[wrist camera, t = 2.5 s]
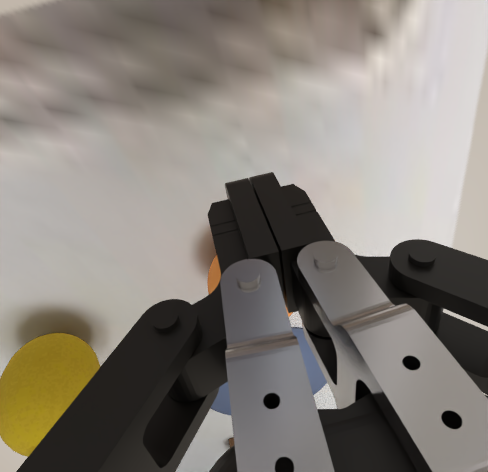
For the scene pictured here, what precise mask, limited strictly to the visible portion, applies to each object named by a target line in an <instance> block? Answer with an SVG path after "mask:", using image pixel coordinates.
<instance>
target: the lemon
mask: <svg viewBox="0 0 488 472" xmlns="http://www.w3.org/2000/svg"><path fill="white" fill-rule="evenodd" d="M99 368H100V364H99V361H98V359H97V356H96V354H95V352H94V351H93V349H92V348H91V347H90V346H89V345H88V344H87V343H86V342H85V341H83V340H82V339H80V338H78V337H76V336H73V335H70V334H65V333H52V334H46V335H43V336H40V337H37V338H35V339H33V340H31V341H30V342H28V343H26V344H25V345H24V346H23V347H22V348H20V349H19V350H18V351H17V352H16V353H15V354H14V355H13V357H12V358H11V360H10V361H9V363H8V365H7V366H6V368H5V370H4V372H3V374H2V376H1V378H0V436H1V438H2V440H3V441H4V442H5V444H7V445H8V446H9V447H10V448H11V449H12V450H13V451H15V452H17V453H19V454H21V455H24V456H28V457H29V455H30V454H31V453H32V452H33V450H34V449H35V448H36V447H37V445H38V444H39V443H40V442H41V440H42V439H43V438H44V437H45V435H46V434H47V433H48V432H49V430H50V429H51V428H52V427H53V425H54V424H55V423H56V422H57V421H58V419H59V418H60V417H61V416H62V414H63V413H64V412H65V411H66V409H67V408H68V407H69V406H70V404H71V403H72V402H73V401H74V399H75V398H76V397H77V396H78V394H79V393H80V392H81V391H82V389H83V388H84V387H85V386H86V385H87V383H88V382H89V381H90V380H91V378H92V377H93V376H94V375H95V373H96V372H97V371H98V370H99Z"/></svg>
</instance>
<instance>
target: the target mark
mask: <svg viewBox="0 0 488 472" xmlns="http://www.w3.org/2000/svg"><path fill="white" fill-rule="evenodd" d="M292 331H293V335H294V336H296V337H297V340H298V343H299V346H300V349H301V353H302V357H303V360H304V364H305V367H306V371H307V375H308V378H309V382H310V385H311V389H312V392H313V395H314V394H315V393H317V392H318V391H319V390H320V389H321V388H322V387H323V386H324V385H325V384H326V383H327V381H326V379H325V377H324V375H323V373H322V371H321V369H320V367H319V364H318V362H317V360H316V358H315V356H314V354H313V352H312V350H311V348H310V346H309V344H308V342H307V340H306V338H305V336H304V334H303V329H302V328H292ZM211 409H213V410H215V411H217V412H220V413H223V414H227V415H231V406H230V396H229V387H228V382H226V383H225V384H223V385H222V386H220V387H219V392H218V394H217V397H216V399H215V400H214V402H213V404H212V406H211ZM231 416H232V415H231Z"/></svg>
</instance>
